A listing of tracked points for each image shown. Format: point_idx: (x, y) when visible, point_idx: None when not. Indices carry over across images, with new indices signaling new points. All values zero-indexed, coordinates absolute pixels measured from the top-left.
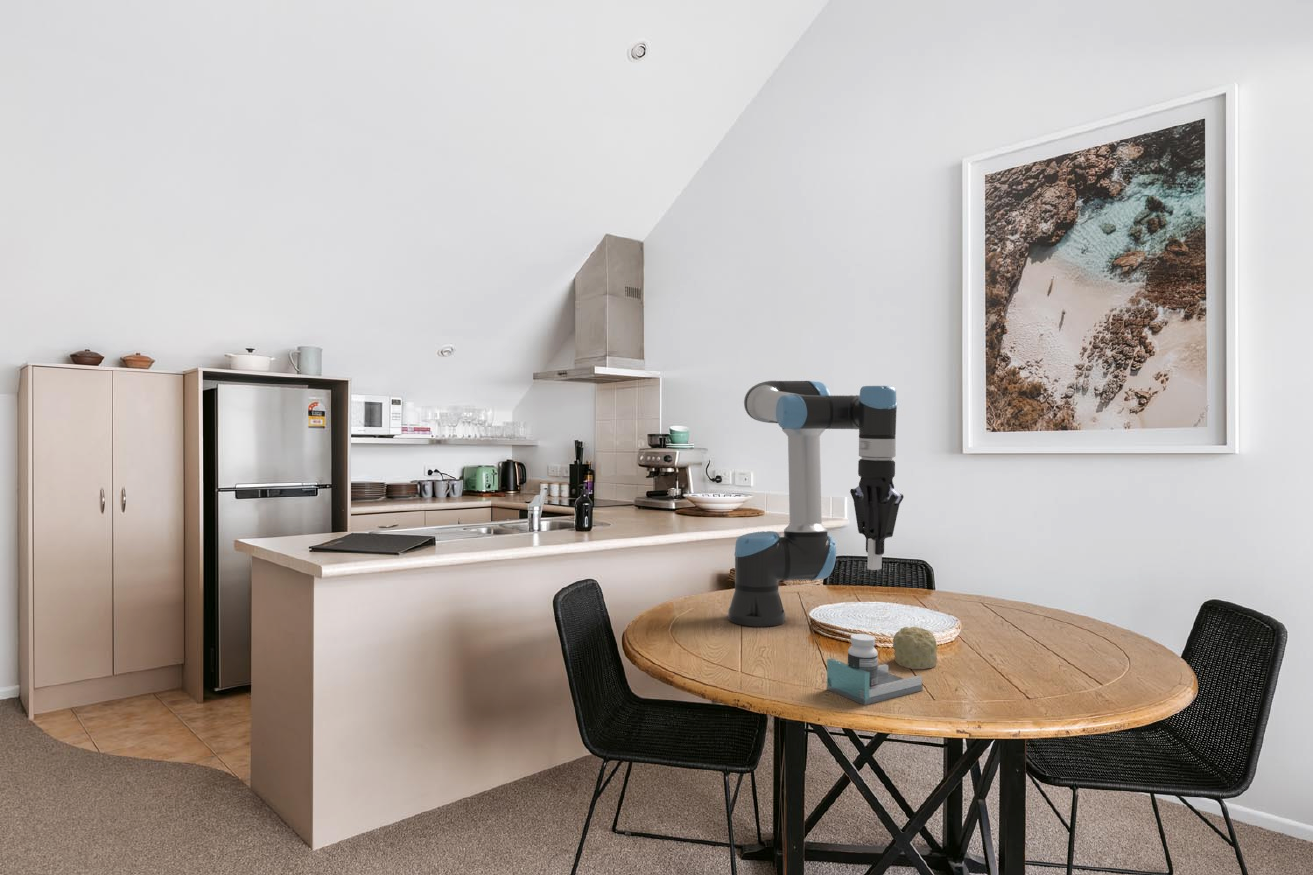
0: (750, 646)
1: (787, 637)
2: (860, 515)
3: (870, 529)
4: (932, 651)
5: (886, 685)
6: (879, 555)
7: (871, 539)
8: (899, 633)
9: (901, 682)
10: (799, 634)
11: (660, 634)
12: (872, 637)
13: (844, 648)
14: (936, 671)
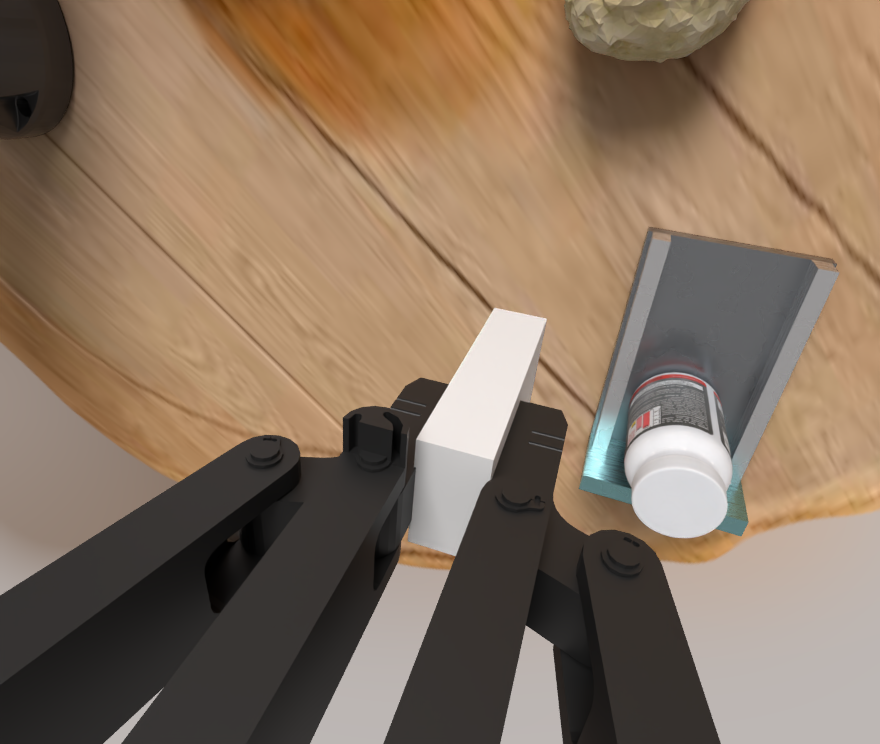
0: (226, 285)
1: (190, 116)
2: (143, 701)
3: (375, 596)
4: None
5: (765, 424)
6: (523, 395)
7: (452, 553)
8: (602, 24)
9: (793, 367)
10: (175, 45)
11: (76, 364)
12: (710, 489)
13: (368, 51)
14: None
